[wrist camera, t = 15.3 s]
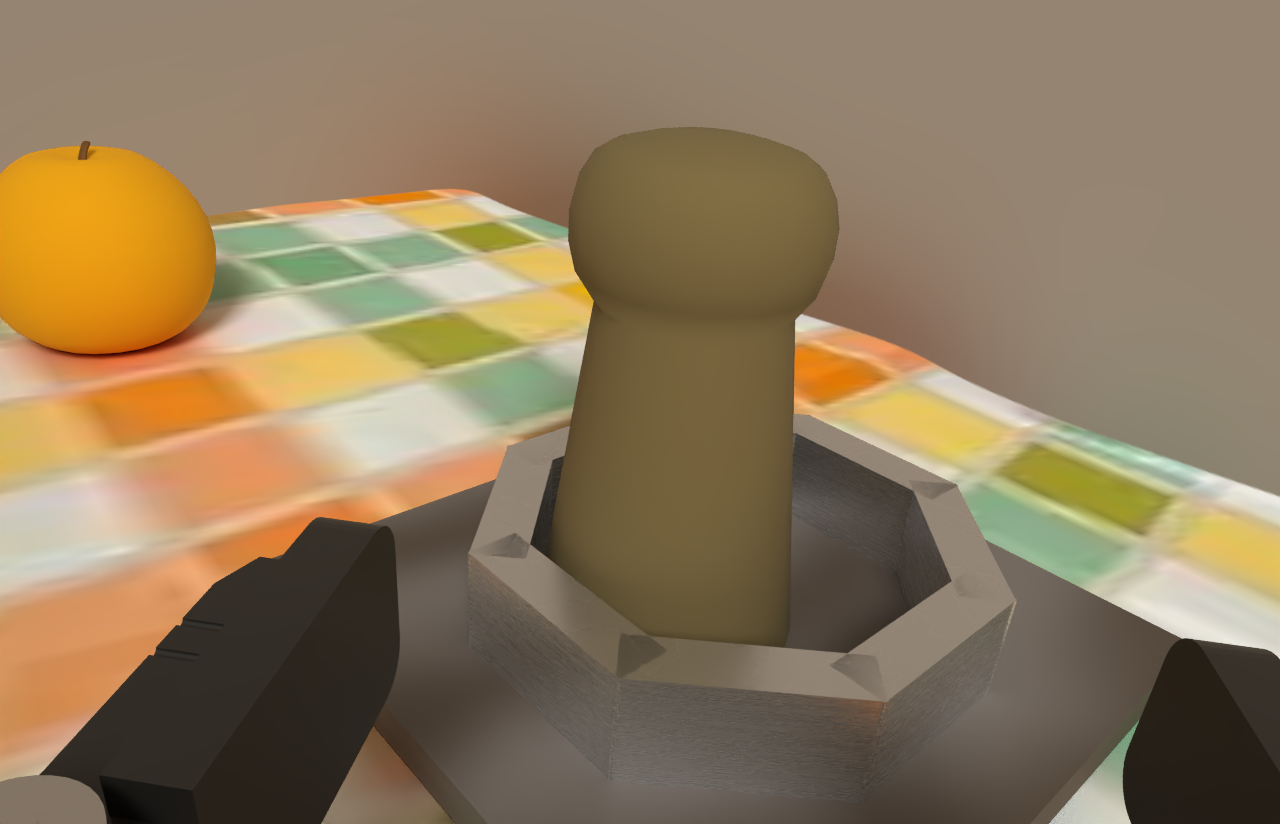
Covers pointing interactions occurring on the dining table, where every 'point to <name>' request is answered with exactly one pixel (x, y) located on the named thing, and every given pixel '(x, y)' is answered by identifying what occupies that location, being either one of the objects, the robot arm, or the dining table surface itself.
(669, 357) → the cork
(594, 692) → the steel ring
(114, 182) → the orange
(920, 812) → the holder plate
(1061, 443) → the dining table surface
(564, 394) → the dining table surface
